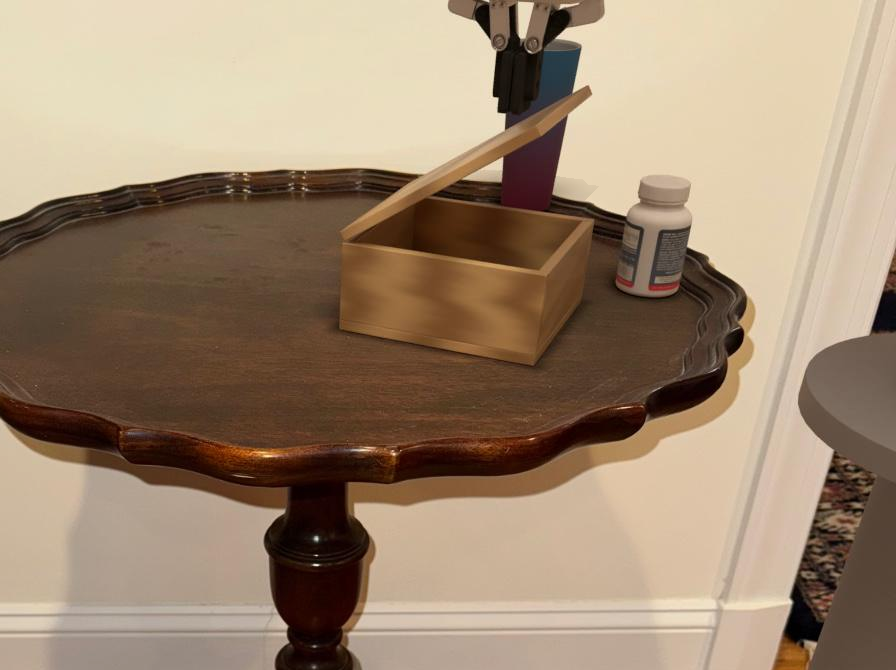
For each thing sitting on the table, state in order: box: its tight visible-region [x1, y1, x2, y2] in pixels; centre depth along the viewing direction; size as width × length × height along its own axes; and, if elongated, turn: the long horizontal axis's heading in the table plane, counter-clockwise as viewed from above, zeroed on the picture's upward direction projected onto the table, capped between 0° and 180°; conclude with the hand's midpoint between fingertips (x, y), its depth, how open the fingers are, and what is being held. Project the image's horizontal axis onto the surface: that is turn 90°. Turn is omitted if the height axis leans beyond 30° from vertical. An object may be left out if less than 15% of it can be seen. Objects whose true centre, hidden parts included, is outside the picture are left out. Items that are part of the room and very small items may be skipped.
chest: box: [338, 195, 595, 367], centre depth 89 cm, size 16×15×7 cm
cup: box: [500, 37, 583, 212], centre depth 111 cm, size 7×7×15 cm
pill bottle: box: [615, 174, 693, 298], centre depth 94 cm, size 5×5×9 cm
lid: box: [340, 84, 593, 241], centre depth 84 cm, size 16×15×1 cm
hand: (513, 109), depth 81 cm, fingers closed
